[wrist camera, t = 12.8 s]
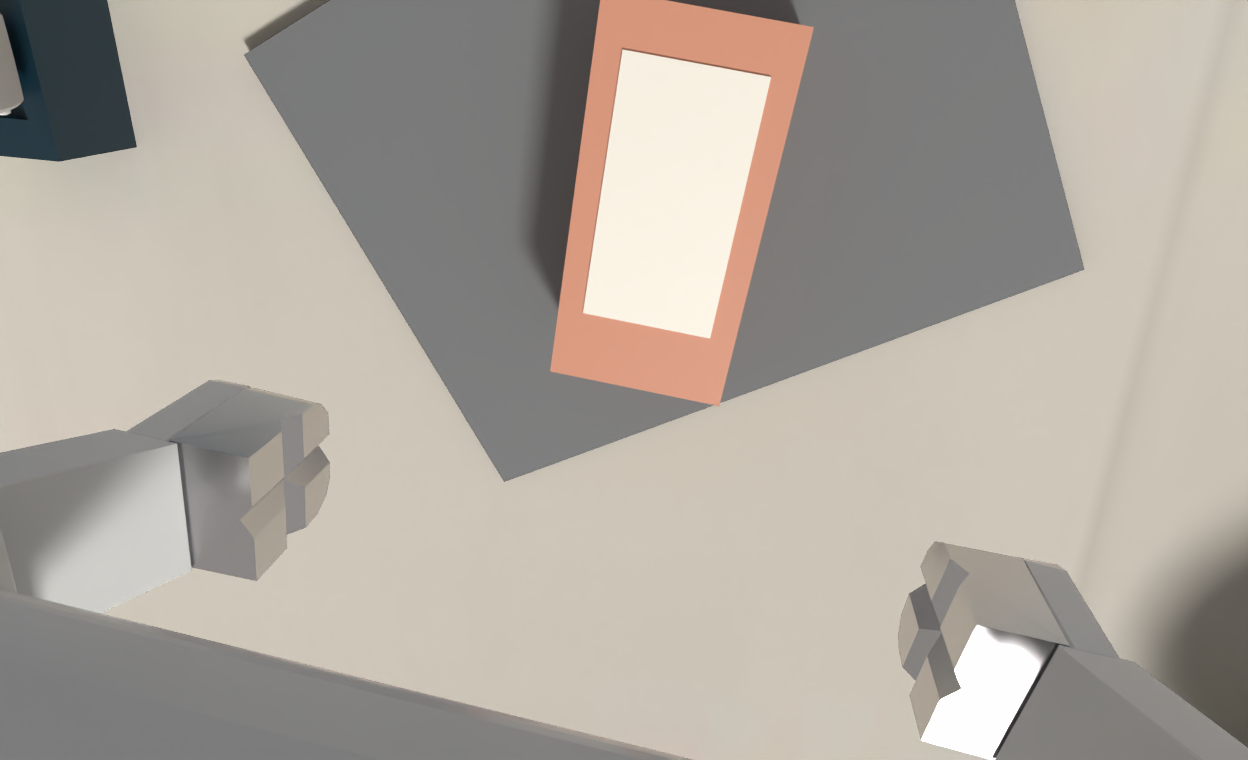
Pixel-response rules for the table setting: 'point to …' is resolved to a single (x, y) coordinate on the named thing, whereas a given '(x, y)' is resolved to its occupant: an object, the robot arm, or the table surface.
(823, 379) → the table surface
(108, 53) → the watch
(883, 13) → the mat
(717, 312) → the block
